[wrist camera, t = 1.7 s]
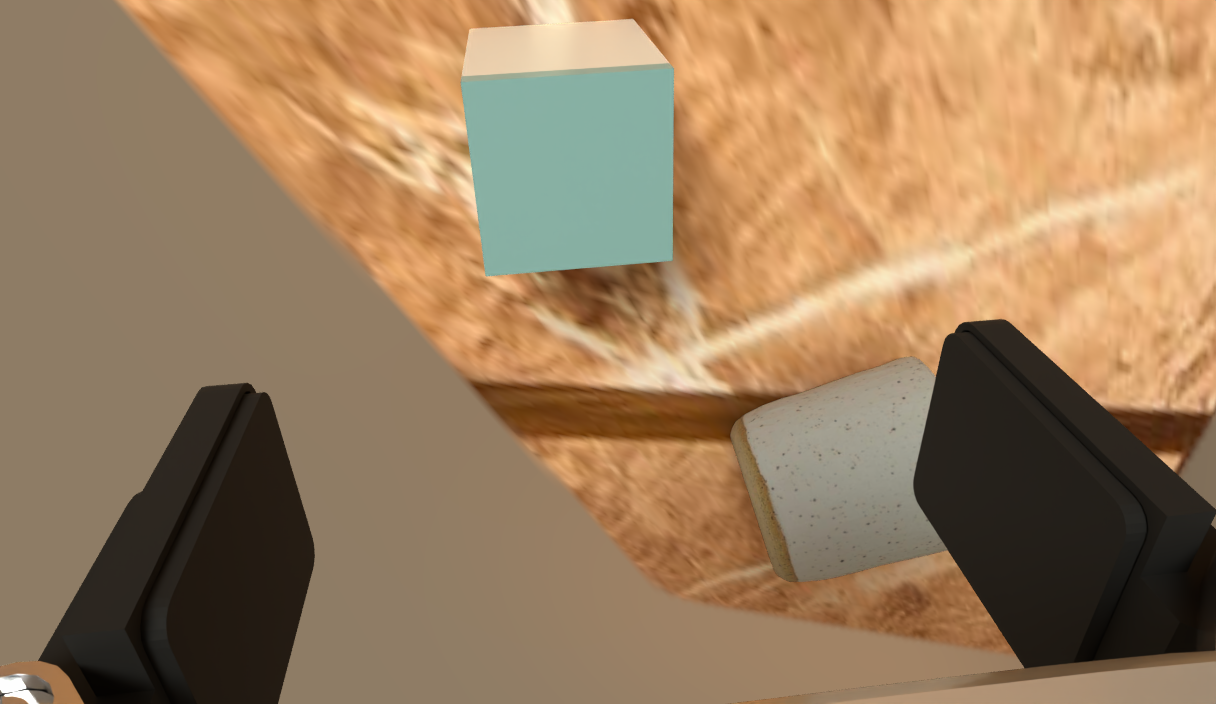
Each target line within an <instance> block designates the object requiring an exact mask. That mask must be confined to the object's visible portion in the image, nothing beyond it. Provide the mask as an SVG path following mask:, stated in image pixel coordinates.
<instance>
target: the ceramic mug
mask: <svg viewBox="0 0 1216 704" xmlns="http://www.w3.org/2000/svg"><path fill="white" fill-rule="evenodd" d="M935 379H936V377H935V375H934V374H933V373H932V372H931V371H930V369H929V368H928V367H927V366H926V365H925V364H924V363H923V362H922V361H920V360H919V359H917V358H915V357H904V358H900V359H896V360H894V361H891V362H889V363H886V364H884V365H881V366H879V367H875V368H872V369H869V370H865V371H862V372H859V373H856V374H853V375H850V376H847V377H844V378H841V379H838V380H836V381H833V382H830V383H827V384H824V385H822V386H819V387H816V388H813V389H811V390H808V391H805V392H802V393H799V394H796V395H792V396H789V397H785V398H782V399H779V400H776V401H773V402H771V403H768V404H765V405H763V406H761V407H759V408H757V409H755V410H753V411H751V412H749V413H747V414H745V415H744V416H742V417H741V418H740V419H738V420H737V421H736V422H735V424H734V425H733V427H732V430H731V434H730V437H731V441H732V444H733V447H734V450H735V453H736V456H737V459H738V462H739V465H740V468H741V471H742V475H743V478H744V481H745V484H746V487H747V490H748V493H749V496H750V499H751V503H752V506H753V509H754V512H755V515H756V518H757V521H758V524H759V527H760V530H761V533H762V536H763V540H764V543H765V546H766V549H767V552H768V555H769V558H770V560H771V563H772V566H773V569H774V571H775V573H776V574H777V575H778V576H779V577H781V578H783V579H784V580H787V581H789V582H806V581H818V580H825V579H830V578H835V577H839V576H843V575H847V574H851V573H855V572H859V571H863V570H866V569H870V568H874V567H877V566H881V565H885V564H890V563H894V562H899V561H903V560H908V559H912V558H917V557H921V556H925V555H930V554H934V553H938V552H942V551H947V548H946V546H945V545H944V543H943V542H942V540H941V539H940V537H939V536H938V534H937V533H936V531H935V530H934V528H933V526H932V525H931V523H930V522H929V520H928V519H927V517H926V516H925V514H924V513H923V511H922V510H921V508H920V506H919V505H918V503H917V501H916V498H915V495H914V490H913V479H914V473H915V469H916V464H917V460H918V455H919V451H920V446H921V442H922V437H923V433H924V428H925V424H926V420H927V415H928V411H929V406H930V402H931V397H932V393H933V388H934V384H935Z"/></svg>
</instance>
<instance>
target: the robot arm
mask: <svg viewBox="0 0 1216 704" xmlns="http://www.w3.org/2000/svg"><path fill="white" fill-rule="evenodd" d="M913 490H914V495H915V498H916V501H917V503H918V505H919V506H920V508H921V510H922V511H923V513H924V514H925V516H926V517H927V519H928V520H929V522H930V523H931V525H932V526H933V528H934V530H935V531H936V533H937V534H938V536H939V537H940V539H941V540H942V542H943V543H944V545H945V546H946V548H947V550H948V551H949V553H950V554H951V556H952V557H953V559H954V560H955V562H956V563H957V565H958V566H959V568H960V570H961V571H962V573H963V574H964V576H965V577H966V579H967V580H968V582H969V583H970V585H971V586H972V588H973V590H974V591H975V593H976V594H977V596H978V597H979V599H980V600H981V602H982V603H983V605H984V606H985V608H986V610H987V611H988V613H989V614H990V616H991V617H992V619H993V620H994V622H995V623H996V625H997V626H998V628H999V630H1000V631H1001V633H1002V634H1003V636H1004V637H1005V639H1006V640H1007V642H1008V643H1009V645H1010V646H1011V648H1012V650H1013V651H1014V653H1015V654H1016V656H1017V657H1018V659H1019V660H1020V662H1021V663H1022V665H1023V666H1024V669H1016V670H1007V671H998V672H990V673H982V674H973V675H965V676H956V677H947V678H939V679H931V680H921V681H913V682H905V683H896V684H887V685H879V686H870V687H862V688H853V689H846V690H838V691H829V692H821V693H812V694H804V695H797V696H788V697H779V698H771V699H763V700H755V701H747V702H738V703H730V704H1216V529H1215V528H1214V527H1213V526H1212V525H1211V523H1212V521H1213V519H1214V517H1215V515H1216V509H1215V508H1213V507H1212V506H1211V505H1210V504H1209V503H1208V502H1207V501H1206V500H1205V499H1204V498H1202V497H1201V496H1200V495H1199V494H1198V493H1197V492H1196V491H1195V490H1194V489H1192V488H1191V487H1190V486H1189V485H1188V484H1187V483H1186V482H1185V481H1184V480H1183V479H1182V478H1180V477H1179V476H1178V475H1177V474H1176V473H1175V472H1174V471H1173V470H1172V469H1171V468H1169V467H1168V466H1167V465H1166V464H1165V463H1164V462H1163V461H1162V460H1161V459H1160V458H1158V457H1157V456H1156V455H1155V454H1154V453H1153V452H1152V451H1151V450H1150V449H1149V448H1147V447H1146V446H1145V445H1144V444H1143V443H1142V442H1141V441H1140V440H1139V439H1137V438H1136V437H1135V436H1134V435H1133V434H1132V433H1131V432H1130V431H1129V430H1128V429H1126V428H1125V427H1124V426H1123V425H1122V424H1121V423H1120V422H1119V421H1118V420H1117V419H1115V418H1114V417H1113V416H1112V415H1111V414H1110V413H1109V412H1108V411H1107V410H1106V409H1104V408H1103V407H1102V406H1101V405H1100V404H1099V403H1098V402H1097V401H1096V400H1095V399H1093V398H1092V397H1091V396H1090V395H1089V394H1088V393H1087V392H1086V391H1085V390H1084V389H1082V388H1081V387H1080V386H1079V385H1078V384H1077V383H1076V382H1075V381H1074V380H1073V379H1071V378H1070V377H1069V376H1068V375H1067V374H1066V373H1065V372H1064V371H1063V370H1062V369H1060V368H1059V367H1058V366H1057V365H1056V364H1055V363H1054V362H1053V361H1052V360H1050V359H1049V358H1048V357H1047V356H1046V355H1045V354H1044V353H1043V352H1042V351H1041V350H1039V349H1038V348H1037V347H1036V346H1035V345H1034V344H1033V343H1032V342H1031V341H1030V340H1028V339H1027V338H1026V337H1025V336H1024V335H1023V334H1022V333H1021V332H1020V331H1019V330H1017V329H1016V328H1015V327H1014V326H1013V325H1012V324H1011V323H1009V322H1008V321H1006V320H1002V319H998V320H986V321H974V322H964V323H962V324H960V325H959V326H958V327H957V329H956V331H955V333H952V334H949V335H948V336H947V337H946V338H945V341H944V344H943V348H942V352H941V357H940V361H939V366H938V370H937V375H936V379H935V384H934V388H933V393H932V397H931V402H930V406H929V411H928V415H927V420H926V424H925V428H924V433H923V437H922V442H921V446H920V451H919V455H918V460H917V464H916V469H915V473H914V479H913ZM314 557H315V554H314V543H313V538H312V535H311V531H310V528H309V525H308V521H307V518H306V515H305V511H304V508H303V505H302V501H301V498H300V495H299V492H298V488H297V485H296V481H295V478H294V475H293V471H292V468H291V465H290V461H289V458H288V455H287V452H286V448H285V445H284V441H283V438H282V435H281V431H280V428H279V425H278V421H277V418H276V415H275V411H274V408H273V405H272V402H271V399H270V397H269V395H268V394H267V393H265V392H263V393H256V392H255V389H254V388H253V387H252V385H251V384H249V383H241V384H228V385H217V386H206V387H202V388H201V389H200V390H199V391H198V393H197V395H196V397H195V398H194V400H193V402H192V404H191V405H190V407H189V409H188V411H187V413H186V415H185V416H184V418H183V420H182V422H181V424H180V425H179V427H178V429H177V430H176V432H175V434H174V436H173V438H172V439H171V441H170V443H169V445H168V447H167V448H166V450H165V452H164V454H163V455H162V458H161V459H160V461H159V463H158V464H157V466H156V468H155V470H154V472H153V473H152V475H151V477H150V479H149V481H148V482H147V484H146V486H145V488H144V489H143V491H142V492H140V493H138V494H136V495H135V496H134V497H133V498H132V499H131V501H130V502H129V503H128V505H127V506H126V508H125V510H124V512H123V513H122V515H121V517H120V519H119V520H118V522H117V524H116V525H115V527H114V529H113V531H112V533H111V534H110V536H109V538H108V539H107V541H106V543H105V545H104V546H103V548H102V550H101V552H100V553H99V555H98V557H97V559H96V561H95V562H94V564H93V566H92V567H91V569H90V571H89V573H88V575H87V576H86V578H85V580H84V582H83V583H82V585H81V587H80V588H79V590H78V592H77V594H76V596H75V597H74V599H73V601H72V602H71V604H70V606H69V608H68V609H67V611H66V613H65V615H64V616H63V618H62V620H61V622H60V623H59V625H58V627H57V629H56V630H55V632H54V634H53V636H52V637H51V639H50V641H49V643H48V644H47V646H46V648H45V649H44V651H43V653H42V655H41V657H40V658H39V660H38V661H29V662H15V663H11V664H7V665H4V666H0V704H278V701H279V697H280V694H281V690H282V686H283V682H284V678H285V674H286V671H287V667H288V663H289V659H290V655H291V651H292V648H293V644H294V640H295V636H296V632H297V628H298V624H299V620H300V617H301V613H302V608H303V605H304V601H305V597H306V594H307V590H308V586H309V582H310V578H311V574H312V571H313V566H314Z"/></svg>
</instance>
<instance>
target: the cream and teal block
mask: <svg viewBox="0 0 1216 704" xmlns="http://www.w3.org/2000/svg"><path fill="white" fill-rule="evenodd" d="M461 88H462V96H463V104H464V112H465V119H466V127H467V135H468V143H469V150H470V158H471V166H472V174H473V181H474V189H475V197H476V205H477V212H478V220H479V228H480V236H481V243H482V251H483V259H484V266H485V274H486V276H495V275H507V274H519V273H531V272H543V271H555V270H567V269H579V268H591V267H603V266H615V265H627V264H640V263H652V262H664V261H673V117H674V68H673V67H672V66H671V64H670V63H669V62H668V61H667V60H666V58H665V57H664V56H663V55H662V53H661V52H660V51H659V50H658V49H657V47H656V46H655V45H654V44H653V43H652V41H651V40H650V39H649V38H648V36H647V35H646V34H645V33H644V32H643V30H642V29H641V28H640V27H639V25H638V24H637V23H636V22H635V21H634V19H625V20H608V21H592V22H575V23H558V24H541V25H524V26H507V27H490V28H474V29H470V30H469V36H468V42H467V48H466V54H465V60H464V66H463V71H462V77H461Z"/></svg>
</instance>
